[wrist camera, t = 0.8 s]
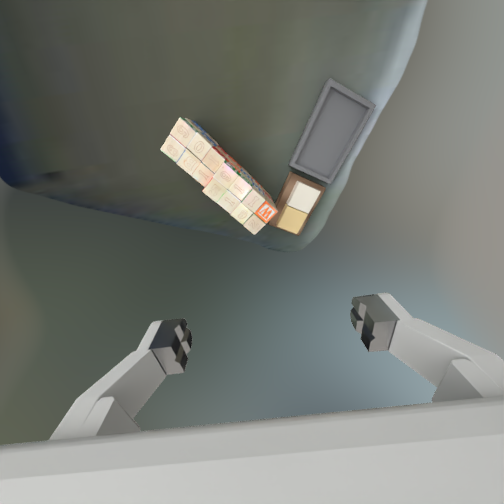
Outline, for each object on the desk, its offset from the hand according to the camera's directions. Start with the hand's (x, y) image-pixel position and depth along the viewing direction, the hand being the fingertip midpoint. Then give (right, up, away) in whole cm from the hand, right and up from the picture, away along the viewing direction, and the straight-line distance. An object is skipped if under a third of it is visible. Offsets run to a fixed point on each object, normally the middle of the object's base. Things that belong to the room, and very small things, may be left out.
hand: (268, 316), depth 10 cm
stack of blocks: (-6, +21, +34) cm, 40 cm away
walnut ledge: (+9, +15, +37) cm, 41 cm away
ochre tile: (+8, +11, +36) cm, 38 cm away
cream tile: (+10, +15, +33) cm, 38 cm away
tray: (+14, +26, +30) cm, 43 cm away
